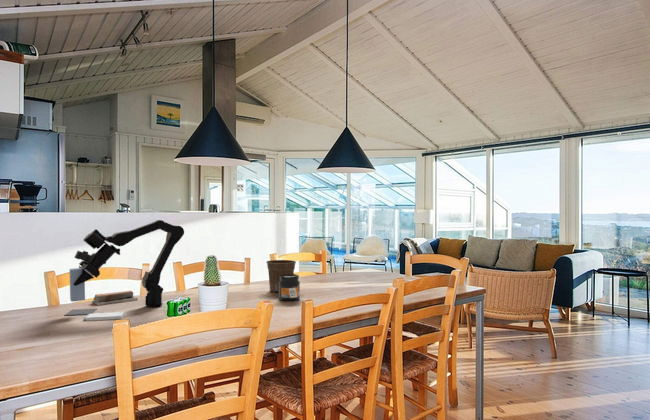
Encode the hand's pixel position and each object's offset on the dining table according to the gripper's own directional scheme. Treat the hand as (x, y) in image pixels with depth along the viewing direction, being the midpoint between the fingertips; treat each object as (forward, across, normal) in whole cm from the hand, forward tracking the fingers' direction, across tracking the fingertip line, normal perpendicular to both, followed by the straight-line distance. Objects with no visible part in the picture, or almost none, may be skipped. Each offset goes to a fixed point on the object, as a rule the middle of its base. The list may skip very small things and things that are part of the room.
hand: (73, 284), depth 187 cm
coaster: (+7, -5, +12) cm, 14 cm away
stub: (+4, 0, +6) cm, 7 cm away
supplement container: (-54, +24, +75) cm, 95 cm away
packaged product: (-4, -21, +24) cm, 32 cm away
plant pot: (-60, +1, +81) cm, 101 cm away
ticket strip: (+2, +11, +16) cm, 20 cm away
